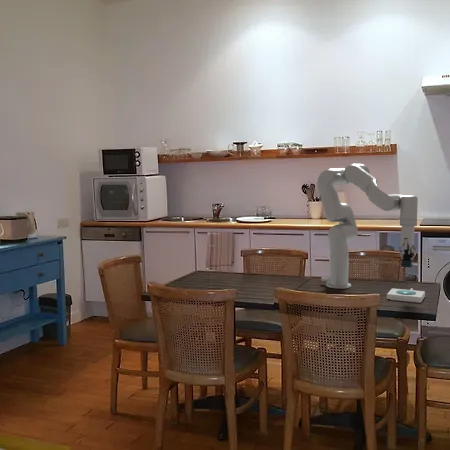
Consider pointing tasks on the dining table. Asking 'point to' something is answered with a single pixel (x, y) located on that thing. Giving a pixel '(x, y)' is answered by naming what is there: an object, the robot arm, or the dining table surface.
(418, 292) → the charging dock
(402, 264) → the watch
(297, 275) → the dining table surface
